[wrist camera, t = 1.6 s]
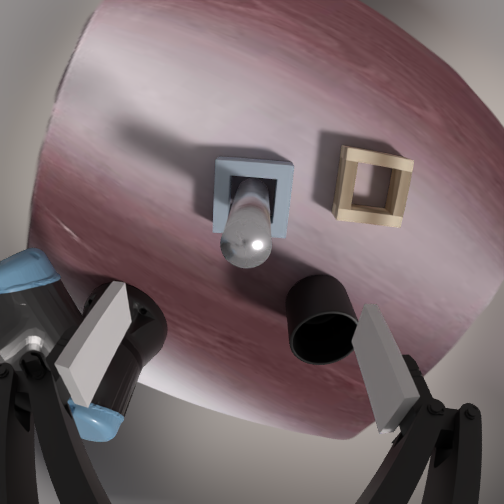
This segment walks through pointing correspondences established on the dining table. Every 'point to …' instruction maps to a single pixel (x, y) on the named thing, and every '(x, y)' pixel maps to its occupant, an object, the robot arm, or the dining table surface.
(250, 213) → the pin
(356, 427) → the dining table surface
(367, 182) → the dining table surface
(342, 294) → the mug
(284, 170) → the socket block
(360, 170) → the dining table surface
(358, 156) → the block
